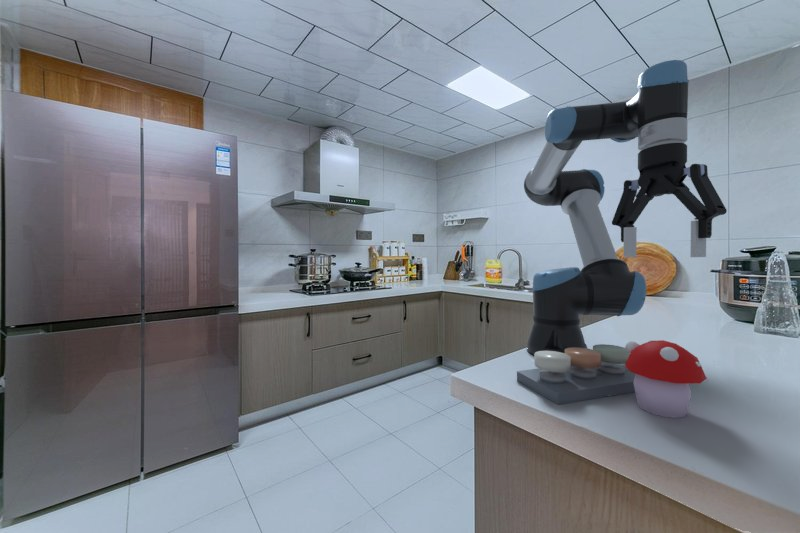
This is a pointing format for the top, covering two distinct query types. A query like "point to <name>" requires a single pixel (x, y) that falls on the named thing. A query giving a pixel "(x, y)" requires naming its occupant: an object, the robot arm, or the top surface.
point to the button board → (579, 382)
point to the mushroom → (663, 376)
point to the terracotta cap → (584, 357)
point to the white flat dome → (552, 361)
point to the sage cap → (612, 353)
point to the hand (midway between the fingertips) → (660, 257)
